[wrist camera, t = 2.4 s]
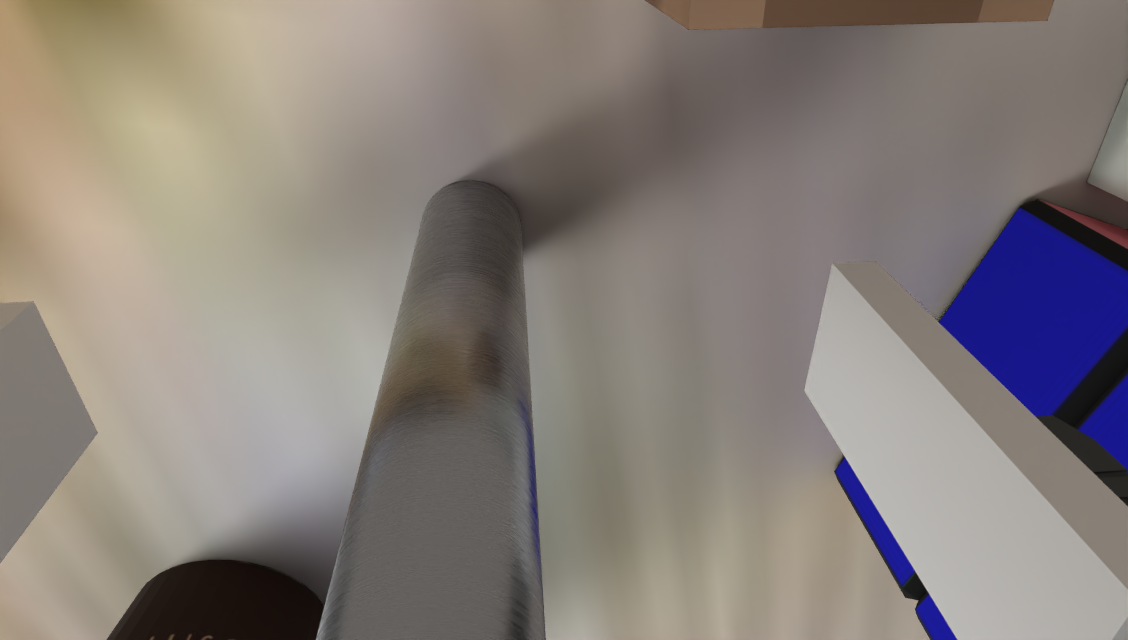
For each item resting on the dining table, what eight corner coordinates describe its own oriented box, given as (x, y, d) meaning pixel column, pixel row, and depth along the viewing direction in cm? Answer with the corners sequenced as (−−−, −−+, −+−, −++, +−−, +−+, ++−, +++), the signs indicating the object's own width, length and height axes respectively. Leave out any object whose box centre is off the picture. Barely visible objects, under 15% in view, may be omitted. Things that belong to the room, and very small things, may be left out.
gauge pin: (523, 269, 17) (553, 791, 7) (428, 273, 17) (320, 810, 7) (519, 178, 16) (547, 652, 6) (416, 182, 16) (264, 675, 6)
